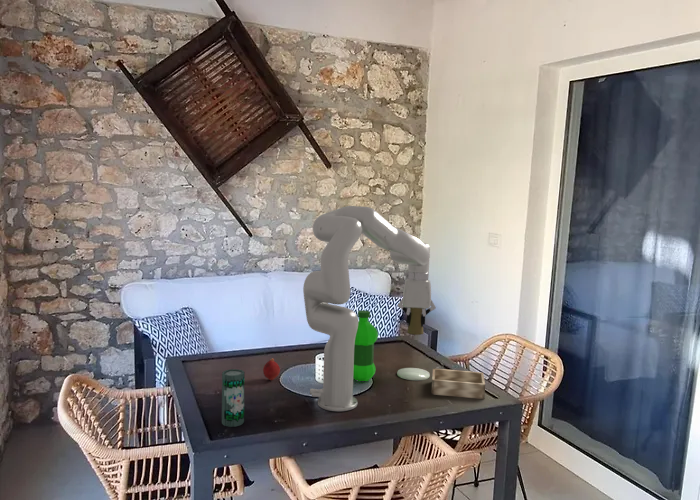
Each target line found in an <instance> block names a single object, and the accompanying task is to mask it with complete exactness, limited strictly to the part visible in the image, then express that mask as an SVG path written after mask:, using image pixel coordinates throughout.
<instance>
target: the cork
mask: <svg viewBox="0 0 700 500" xmlns="http://www.w3.org/2000/svg"><path fill="white" fill-rule="evenodd" d="M410 312H411V314H410V315H411V321H410V326H407V331H406V333H407V334H410V335H412V336H413V335H415V336H419V335H424V326H423V327H421V316H422V308H410Z"/></svg>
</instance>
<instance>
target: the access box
mask: <svg viewBox="0 0 700 500" xmlns="http://www.w3.org/2000/svg"><path fill="white" fill-rule="evenodd" d="M431 376H432V377H431V391H430V392H431V395H435V396H436V395H437V396H446V397H447V396H448V397H458V398H469V399H479V400H480V399H481V400H484V399H485V398H486V397H485V395H486V382H485V381H486V380H485V376H484V372H481V371H479V372H478V371H469V370H456V369H443V368H432V375H431Z"/></svg>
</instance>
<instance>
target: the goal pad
mask: <svg viewBox="0 0 700 500" xmlns="http://www.w3.org/2000/svg"><path fill="white" fill-rule="evenodd" d="M396 374H397V375H396V376H398V377H399V378H401V379H403V380H406V381H407V380H408V381H413V382H414V381H425V380H428V379H429V378H430V376H431V375H430V372H429V371H427V370H425V369H422V368H418V367H417V368H416V367H403V368H400V369H398V370H397V373H396Z"/></svg>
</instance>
